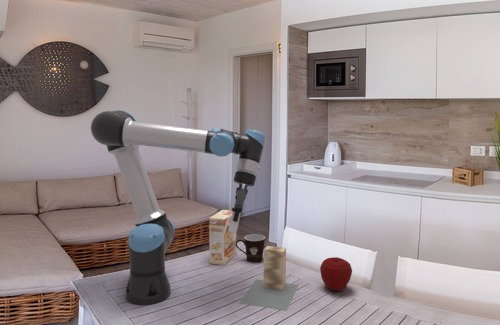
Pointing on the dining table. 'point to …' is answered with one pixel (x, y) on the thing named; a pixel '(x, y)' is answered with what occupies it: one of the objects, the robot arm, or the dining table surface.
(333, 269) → the apple
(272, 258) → the letter block
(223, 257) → the coffeecake box
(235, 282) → the dining table surface
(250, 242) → the coffee mug
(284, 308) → the mat
